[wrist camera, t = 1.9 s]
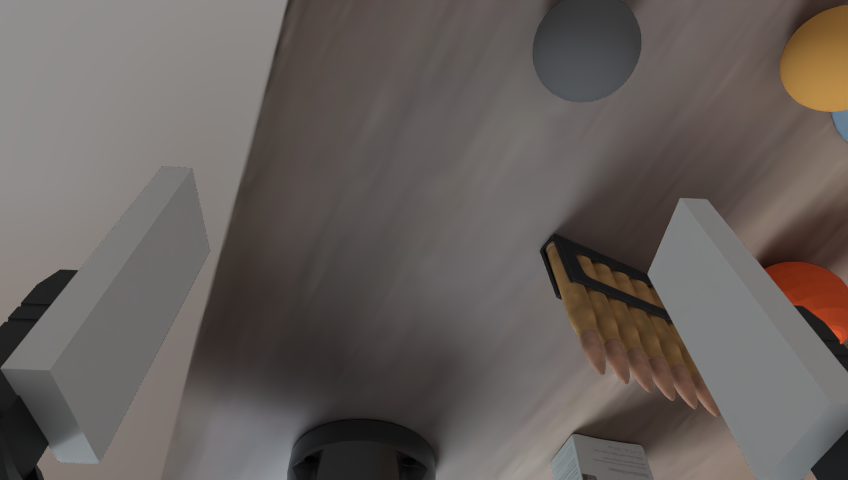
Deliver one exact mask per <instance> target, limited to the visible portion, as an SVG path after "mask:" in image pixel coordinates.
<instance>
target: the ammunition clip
mask: <svg viewBox="0 0 848 480" xmlns="http://www.w3.org/2000/svg"><path fill="white" fill-rule="evenodd" d="M540 253H541V255H542V258H543V261H544V263H545V266H546V269H547V272H548V275H549V277H550V280H551V283H552V286H553V289H554V292H555V294H556V297H557V298H559V299H561V300H563V303H564V306H565V309H566V312H567V315H568V318H569V321H570V323H571V325H572V327H573V328H574V330H575V331H576V334H577V336H578V339H579V341H580V342H581V345H582V348H583V351H584V353H585V355H586V357H587V359H588V360H589V362H590V363H591V365H592V366H593V368H594V369H595V370H596V371H597V372H598V373H599V374H600V375H604V373H605V369H606V361H605V356H606V359H607V361H608V363H609V365H610V366H611V368H612V370H613V371H614V373H615V374H616V375H617V377H618V378H619V379H620V380H621V381H622V382H623V383H625V384H628V383H629V378H630V373H629V368H630V370H631V372H632V374H633V375H634V377H635V378H636V380H637V381H638V382H639V384H640V385H641V386H642V387H643V388H644V389H645V390H646V391H647V392H649V393H651V392H652V389H653V381H652V379H653V380H654V382H655V383H656V385H657V386H658V388H659V389H660V390H661V391H662V393H663V394H664V395H665V396H666V397H667V398H669V399H670V400H671V401H674V400H675V389H676V390H677V392H678V393H679V394H680V396H681V397H682V398H683V399H684V400H685V402H686V403H687V404H688V405H689V406H691V407H692V408H693V409H697V407H698V399H699V401H700V402H701V403H702V404H703V406H704V407H705V408H706V409H707V410H708V411H709V412H710V413H711V414H713V415H714V416H715V417H719V414H720V411H719V409H718V407H717V405H716V403H715V401H714V399H713V397H712V395H711V393H710V392H709V390H708V388H707V386H706V384H705V382H704V380H703V378H702V377H701V375H700V373H699V371H698V369H697V367H696V365H695V363H694V361H693V360H692V358H691V356H690V354H689V352H688V350H687V348H686V346H685V344H684V343H683V341H682V339H681V337H680V335H679V333H678V331H677V329H676V327H675V326H674V324H673V322H672V320H671V318H670V316H669V314H668V312H667V311H666V309H665V307H664V305H663V303H662V301H661V299H660V297H659V295H658V294H657V292H656V290H655V288H654V286H653V284H652V282H651V280H650V278H649V277H648V275H647V274H645V273H642V272H640V271H638V270H636V269H633V268H631V267H629V266H627V265H624V264H622V263H620V262H618V261H615V260H613V259H611V258H609V257H606V256H604V255H602V254H600V253H597V252H595V251H593V250H591V249H588V248H586V247H584V246H582V245H579V244H577V243H575V242H573V241H570V240H568V239H566V238H564V237H561V236H559V235H557V234H554V235H552V237H551V238H550V239H549V240H548V242H547V243H546V244H545V245H544V247H543V248H542V249H541V250H540ZM697 398H698V399H697Z"/></svg>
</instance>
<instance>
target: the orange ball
mask: <svg viewBox="0 0 848 480" xmlns="http://www.w3.org/2000/svg"><path fill="white" fill-rule="evenodd" d="M780 76H781V80H782V83H783V86H784V88H785V89H786V91H787V92H788V94H789V95H790V96H791V97H792V98H793V99H794V100H796V101H797V102H798V103H800V104H802V105H804V106H806V107H808V108H811V109H815V110H819V111H828V112H836V111H845V110H848V5H842V6H838V7H834V8H831V9H828V10H826V11H823V12H821V13H819V14H817V15H815V16H814V17H812V18H811V19H809V20H808V21H807V22H805V23H804V24H803V25H802V26H801V27H799V28H798V29H797V30H796V32H795V33H794V34H793V35H792V36H791V38H790V39H789V41H788V42H787V44H786V46H785V48H784V51H783V53H782V56H781V60H780Z"/></svg>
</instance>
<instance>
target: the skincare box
mask: <svg viewBox="0 0 848 480" xmlns="http://www.w3.org/2000/svg"><path fill="white" fill-rule="evenodd" d="M551 468H552V474H553V479H554V480H654V479H653V476H652V473H651V470H650V467H649V464H648V461H647V458H646V455H645V452H644V449H643V448H642V446H641V445H637V444H628V443H622V442H616V441H609V440H603V439H597V438H592V437H588V436H583V435H579V434H572V435H571V436H570V438H569V439H568V440H567V441H566V443H565V444H564V445H563V447H562V448H561V449H560V450H559V452H558V453H557V454H556V455H555V457H554V458H553V459H552V461H551Z"/></svg>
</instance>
